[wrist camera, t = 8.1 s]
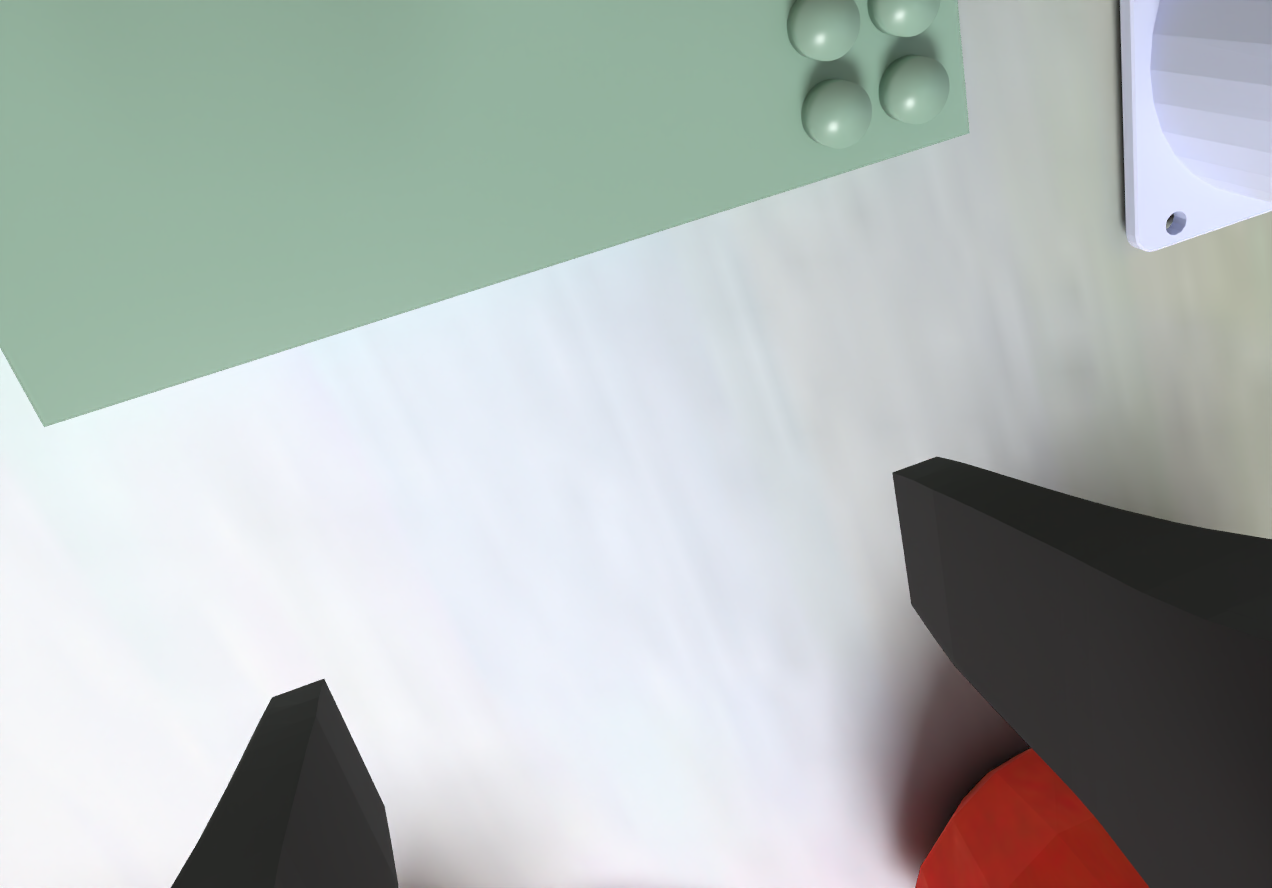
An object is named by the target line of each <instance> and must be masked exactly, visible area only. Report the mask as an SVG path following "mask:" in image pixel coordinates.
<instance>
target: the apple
mask: <svg viewBox="0 0 1272 888" xmlns="http://www.w3.org/2000/svg"><path fill="white" fill-rule="evenodd" d="M915 888H1149V886H1148V885H1147V884H1146V883H1145V881H1144V880H1143V879H1142V877H1141V876H1140V875H1139V873H1138V872H1137V871H1136V869H1135V868H1134V867H1133V866H1132V864H1131V863H1130V862H1129V860H1128V859H1127V858H1126V856H1125V855H1124V854H1123V852H1122V851H1121V850H1120V849H1119V847H1118V846H1117V845H1116V843H1115V842H1114V841H1113V839H1112V838H1111V837H1110V836H1109V834H1108V833H1107V832H1106V830H1105V829H1104V828H1103V826H1102V825H1101V824H1100V823H1099V821H1098V820H1097V819H1096V818H1095V817H1094V815H1093V814H1092V813H1091V812H1090V811H1089V810H1088V808H1087V807H1086V806H1085V805H1084V804H1083V803H1082V802H1081V800H1080V799H1079V798H1078V797H1077V796H1076V795H1075V794H1074V792H1073V791H1072V790H1071V789H1070V788H1069V787H1068V786H1067V785H1066V784H1065V783H1064V782H1063V781H1062V780H1061V779H1060V778H1059V776H1058V775H1057V774H1056V773H1055V772H1054V771H1053V770H1052V769H1051V768H1050V767H1049V766H1048V765H1047V764H1046V763H1045V762H1044V761H1043V760H1042V759H1041V757H1040V756H1039V755H1038V754H1037V753H1036V752H1035V751H1034V750H1033V749H1032V748H1030V749H1028V750H1026V751H1024V752H1022V753H1020V754H1018V755H1017V756H1015V757H1013V758H1011V759H1010V760H1008V761H1006V762H1005V763H1003V764H1001V765H1000V766H998V767H996V768H995V769H993V770H991V771H990V772H988V773H987V774H986V775H985V776H984V777H983V778H982V779H981V780H980V781H979V782H978V783H977V784H976V785H975V786H974V787H973V789H972V790H971V791H970V792H969V793H968V794H967V795H966V796H965V797H964V798H963V799H962V801H961V803H960V804H959V806H958V807H957V809H956V811H955V812H954V814H953V815H952V817H951V819H950V820H949V822H948V823H947V825H946V827H945V828H944V830H943V831H942V833H941V835H940V836H939V838H938V840H937V841H936V843H935V844H934V846H933V848H932V849H931V851H930V852H929V854H928V856H927V857H926V859H925V860H924V862H923V864H922V865H921V867H920V871H919V875H918V879H917V883H916V887H915Z"/></svg>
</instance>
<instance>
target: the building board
mask: <svg viewBox="0 0 1272 888" xmlns="http://www.w3.org/2000/svg"><path fill="white" fill-rule="evenodd" d="M968 133H969V122H968V111H967V100H966V90H965V79H964V68H963V57H962V46H961V35H960V24H959V13H958V2H957V0H0V348H1V350H2V352H3V353H4V355H5V357H6V359H7V361H8V363H9V364H10V366H11V368H12V370H13V372H14V373H15V375H16V377H17V379H18V381H19V382H20V384H21V386H22V388H23V390H24V392H25V393H26V395H27V397H28V399H29V401H30V402H31V404H32V406H33V408H34V410H35V412H36V413H37V415H38V417H39V419H40V421H41V422H42V424H43V426H44V427H46V426H49V425H52V424H55V423H58V422H61V421H65V420H68V419H71V418H74V417H77V416H80V415H83V414H87V413H90V412H93V411H96V410H99V409H102V408H105V407H109V406H112V405H115V404H118V403H121V402H124V401H127V400H131V399H134V398H137V397H140V396H143V395H146V394H150V393H153V392H156V391H159V390H162V389H165V388H168V387H172V386H175V385H178V384H181V383H184V382H187V381H190V380H194V379H197V378H200V377H203V376H206V375H209V374H212V373H216V372H219V371H222V370H225V369H228V368H231V367H235V366H238V365H241V364H244V363H247V362H250V361H253V360H257V359H260V358H263V357H266V356H269V355H272V354H275V353H279V352H282V351H285V350H288V349H291V348H294V347H297V346H301V345H304V344H307V343H310V342H313V341H316V340H320V339H323V338H326V337H329V336H332V335H335V334H338V333H342V332H345V331H348V330H351V329H354V328H357V327H360V326H364V325H367V324H370V323H373V322H376V321H379V320H382V319H386V318H389V317H392V316H395V315H398V314H401V313H405V312H408V311H411V310H414V309H417V308H420V307H423V306H427V305H430V304H433V303H436V302H439V301H442V300H445V299H449V298H452V297H455V296H458V295H461V294H464V293H467V292H471V291H474V290H477V289H480V288H483V287H486V286H490V285H493V284H496V283H499V282H502V281H505V280H508V279H512V278H515V277H518V276H521V275H524V274H527V273H530V272H534V271H537V270H540V269H543V268H546V267H549V266H552V265H556V264H559V263H562V262H565V261H568V260H571V259H575V258H578V257H581V256H584V255H587V254H590V253H593V252H597V251H600V250H603V249H606V248H609V247H612V246H615V245H619V244H622V243H625V242H628V241H631V240H634V239H637V238H641V237H644V236H647V235H650V234H653V233H656V232H660V231H663V230H666V229H669V228H672V227H675V226H678V225H682V224H685V223H688V222H691V221H694V220H697V219H700V218H704V217H707V216H710V215H713V214H716V213H719V212H722V211H726V210H729V209H732V208H735V207H738V206H741V205H745V204H748V203H751V202H754V201H757V200H760V199H763V198H767V197H770V196H773V195H776V194H779V193H782V192H785V191H789V190H792V189H795V188H798V187H801V186H804V185H807V184H811V183H814V182H817V181H820V180H823V179H826V178H830V177H833V176H836V175H839V174H842V173H845V172H848V171H852V170H855V169H858V168H861V167H864V166H867V165H870V164H874V163H877V162H880V161H883V160H886V159H889V158H892V157H896V156H899V155H902V154H905V153H908V152H911V151H915V150H918V149H921V148H924V147H927V146H930V145H933V144H937V143H940V142H943V141H946V140H949V139H952V138H955V137H959V136H962V135H965V134H968Z"/></svg>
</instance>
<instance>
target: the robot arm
mask: <svg viewBox="0 0 1272 888" xmlns="http://www.w3.org/2000/svg"><path fill="white" fill-rule="evenodd" d="M1120 20H1121V58H1122V96H1123V134H1124V171H1125V209H1126V235H1127V239H1128V242H1129V243H1130V244H1131V245H1132V246H1133V247H1136V248H1139V249H1141V250H1144V251H1147V252H1149V251H1156V250H1159V249H1162V248H1165V247H1168V246H1170V245H1173V244H1176V243H1179V242H1182V241H1185V240H1188V239H1191V238H1194V237H1197V236H1200V235H1202V234H1205V233H1208V232H1211V231H1214V230H1217V229H1220V228H1223V227H1226V226H1229V225H1232V224H1234V223H1237V222H1240V221H1243V220H1246V219H1249V218H1252V217H1255V216H1258V215H1261V214H1264V213H1266V212H1269V211H1272V0H1120ZM1171 214H1174V218H1173V222H1172V224H1171V225H1170V227H1169V228H1167V229H1166V222H1167V220H1168V218H1169V217H1170V215H1171ZM893 480H894V487H895V494H896V501H897V508H898V514H899V521H900V528H901V535H902V542H903V549H904V556H905V563H906V570H907V577H908V583H909V590H910V597H911V604H912V606H913V608H914V609H915V610H916V612H917V613H918V615H919V616H920V618H921V619H922V621H923V622H924V624H925V625H926V627H927V628H928V629H929V631H930V632H931V634H932V635H933V637H934V638H935V640H936V641H937V642H938V644H939V645H940V646H941V648H942V649H943V651H944V652H945V653H946V655H947V656H948V657H949V659H950V660H951V661H952V663H953V664H954V666H955V667H956V668H957V669H958V670H959V671H960V672H961V673H962V674H963V676H964V677H965V678H966V679H967V680H968V681H969V682H970V683H971V684H972V685H973V686H974V687H975V689H976V690H977V691H978V692H979V693H980V694H981V695H982V696H983V697H984V698H985V699H986V700H987V701H988V702H989V704H990V705H991V706H992V707H993V708H994V709H995V710H996V711H997V712H998V713H999V714H1000V715H1001V716H1002V717H1003V718H1004V720H1005V721H1006V722H1007V723H1008V724H1009V725H1010V726H1011V727H1012V728H1013V729H1014V730H1015V731H1016V732H1017V733H1018V734H1019V735H1020V736H1021V737H1022V738H1023V740H1024V741H1025V742H1026V743H1027V744H1028V745H1029V746H1030V747H1031V748H1032V749H1033V750H1034V751H1035V752H1036V753H1037V754H1038V755H1039V756H1040V757H1041V759H1042V760H1043V761H1044V762H1045V763H1046V764H1047V765H1048V766H1049V767H1050V768H1051V769H1052V770H1053V771H1054V772H1055V773H1056V774H1057V775H1058V776H1059V778H1060V779H1061V780H1062V781H1063V782H1064V783H1065V784H1066V785H1067V786H1068V787H1069V788H1070V789H1071V790H1072V791H1073V792H1074V794H1075V795H1076V796H1077V797H1078V798H1079V799H1080V800H1081V802H1082V803H1083V804H1084V805H1085V806H1086V807H1087V808H1088V810H1089V811H1090V812H1091V813H1092V814H1093V815H1094V817H1095V818H1096V819H1097V820H1098V821H1099V823H1100V824H1101V825H1102V826H1103V828H1104V829H1105V830H1106V832H1107V833H1108V834H1109V836H1110V837H1111V838H1112V839H1113V841H1114V842H1115V843H1116V845H1117V846H1118V847H1119V849H1120V850H1121V851H1122V852H1123V854H1124V855H1125V856H1126V858H1127V859H1128V860H1129V862H1130V863H1131V864H1132V866H1133V867H1134V868H1135V869H1136V871H1137V872H1138V873H1139V875H1140V876H1141V877H1142V879H1143V880H1144V881H1145V883H1146V884H1147V885H1148V886H1149V888H1272V539H1266V538H1259V537H1253V536H1247V535H1241V534H1235V533H1229V532H1223V531H1217V530H1211V529H1206V528H1201V527H1196V526H1191V525H1186V524H1181V523H1176V522H1171V521H1167V520H1163V519H1159V518H1155V517H1150V516H1146V515H1142V514H1138V513H1134V512H1129V511H1125V510H1121V509H1118V508H1114V507H1110V506H1106V505H1103V504H1099V503H1095V502H1092V501H1088V500H1084V499H1081V498H1077V497H1074V496H1070V495H1067V494H1064V493H1060V492H1057V491H1053V490H1050V489H1047V488H1044V487H1040V486H1037V485H1034V484H1030V483H1027V482H1024V481H1021V480H1017V479H1014V478H1011V477H1008V476H1005V475H1001V474H998V473H995V472H992V471H988V470H985V469H982V468H978V467H975V466H972V465H968V464H965V463H961V462H957V461H953V460H949V459H945V458H941V457H935V458H932V459H929V460H926V461H924V462H921V463H918V464H915V465H913V466H910V467H907V468H904V469H901V470H899V471H896V472H893ZM171 888H398V881H397V875H396V869H395V863H394V856H393V850H392V845H391V839H390V834H389V828H388V823H387V817H386V812H385V806H384V804H383V802H382V800H381V798H380V796H379V794H378V791H377V789H376V787H375V785H374V783H373V781H372V779H371V777H370V775H369V772H368V770H367V768H366V766H365V764H364V762H363V760H362V758H361V756H360V753H359V751H358V749H357V747H356V745H355V743H354V741H353V739H352V737H351V734H350V732H349V730H348V728H347V726H346V724H345V722H344V720H343V718H342V715H341V713H340V711H339V709H338V707H337V705H336V703H335V701H334V699H333V696H332V694H331V692H330V690H329V688H328V686H327V684H326V682H325V680H324V679H322V680H319V681H316V682H314V683H311V684H308V685H305V686H303V687H300V688H297V689H294V690H292V691H289V692H286V693H283V694H280V695H278V696H275V697H272V699H271V701H270V702H269V704H268V706H267V708H266V710H265V712H264V714H263V716H262V718H261V720H260V721H259V723H258V725H257V727H256V729H255V732H254V734H253V736H252V738H251V740H250V742H249V744H248V746H247V748H246V750H245V752H244V754H243V756H242V758H241V760H240V762H239V764H238V766H237V768H236V770H235V772H234V774H233V776H232V778H231V780H230V782H229V784H228V786H227V788H226V790H225V792H224V794H223V796H222V797H221V799H220V801H219V803H218V805H217V807H216V809H215V811H214V813H213V815H212V816H211V818H210V820H209V822H208V824H207V826H206V828H205V830H204V832H203V833H202V835H201V837H200V839H199V841H198V843H197V844H196V846H195V848H194V850H193V851H192V853H191V855H190V856H189V858H188V860H187V861H186V863H185V865H184V866H183V868H182V870H181V871H180V873H179V875H178V876H177V878H176V880H175V882H174V883H173V885H172V887H171Z"/></svg>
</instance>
